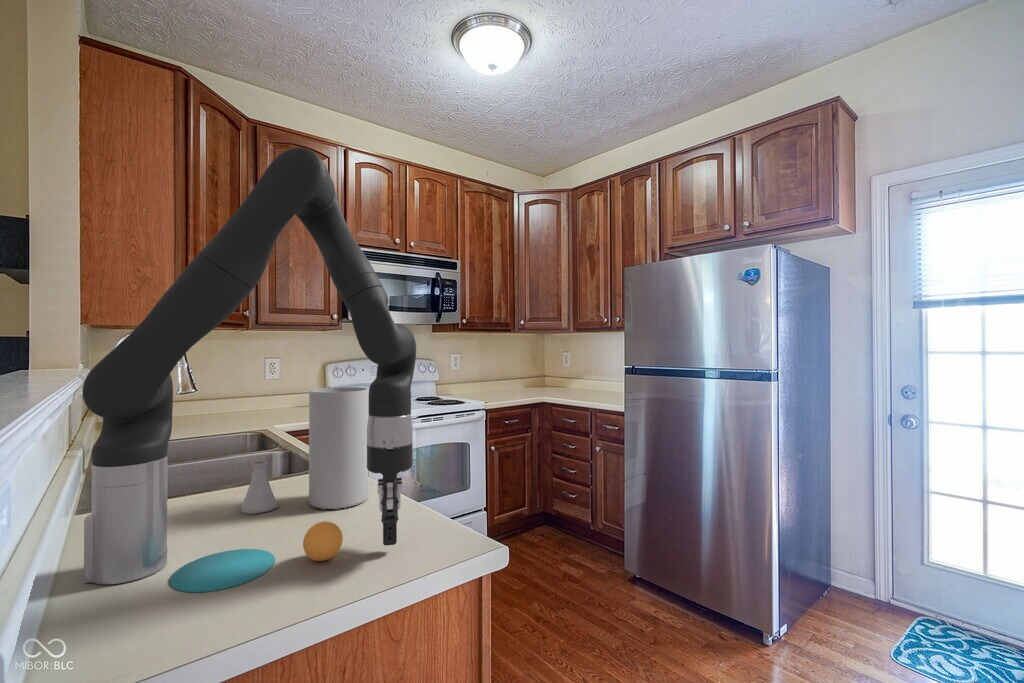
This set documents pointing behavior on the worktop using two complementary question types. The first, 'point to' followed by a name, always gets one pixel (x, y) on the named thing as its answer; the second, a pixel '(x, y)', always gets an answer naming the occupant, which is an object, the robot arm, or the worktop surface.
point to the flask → (259, 491)
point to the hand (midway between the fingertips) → (389, 543)
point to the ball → (322, 541)
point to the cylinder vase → (338, 447)
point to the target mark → (222, 570)
